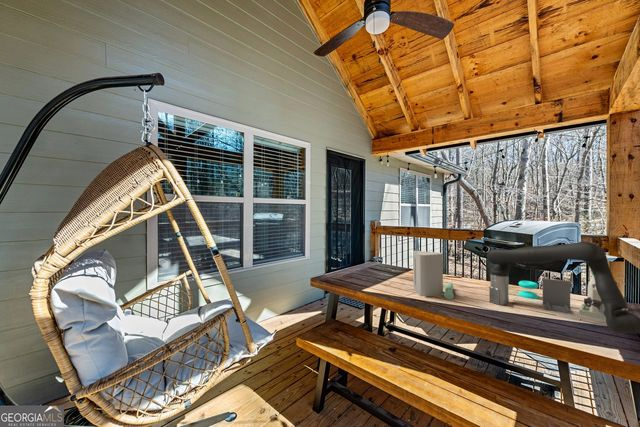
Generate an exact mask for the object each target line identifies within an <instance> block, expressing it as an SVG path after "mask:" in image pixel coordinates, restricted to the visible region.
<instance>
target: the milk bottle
mask: <svg viewBox="0 0 640 427" xmlns="http://www.w3.org/2000/svg"><path fill="white" fill-rule="evenodd" d="M590 273H591V278H590V280H589V281H588V282H587V283H588V284H587V298H588V297H590V286H591V287H592V284H595V279H594V275H593V272H592V271H591V272H590ZM595 287H596V286H595Z"/></svg>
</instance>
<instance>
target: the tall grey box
mask: <svg viewBox="0 0 640 427" xmlns="http://www.w3.org/2000/svg"><path fill="white" fill-rule="evenodd" d="M443 254H444V253H443V252H435V251H423V250H413V251H412V259H413V261H412V263H413V264H412V267H413V268H412V271H413V274H412V275H413V276H412V277H413V278H412V279H413V280H412V282H413V291H414V290H415V291H416V292H417V293H418V294H419V295H418V294H417V293H416V292H415V291H414V292H415V293H416V294H417V295H418V296H420V297H422V296H430V297H434V296H433V295H438V296H442V295H443V294H444V264H443V260H444V257H443Z"/></svg>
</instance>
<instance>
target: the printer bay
mask: <svg viewBox="0 0 640 427" xmlns="http://www.w3.org/2000/svg"><path fill="white" fill-rule="evenodd" d="M542 305H543V308H544V310H545V311H549V312H556V313H562V314H569V315H575V313H574V311H573V310H572V309H571V281H570V280H563V279H552V278H543V277H542Z"/></svg>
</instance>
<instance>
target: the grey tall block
mask: <svg viewBox="0 0 640 427" xmlns="http://www.w3.org/2000/svg"><path fill="white" fill-rule="evenodd" d="M595 286H596V285H595V284H592V287H591V286H590V297H591V298H592V299H593V300H599V301H601V299H600V296H599V294H598V292H597V289H596V287H595ZM592 303H593V301H592ZM590 312H595V313H600V314H601V312H600V311H599V310H598V308H597V307H594V306H591V307H590Z"/></svg>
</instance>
